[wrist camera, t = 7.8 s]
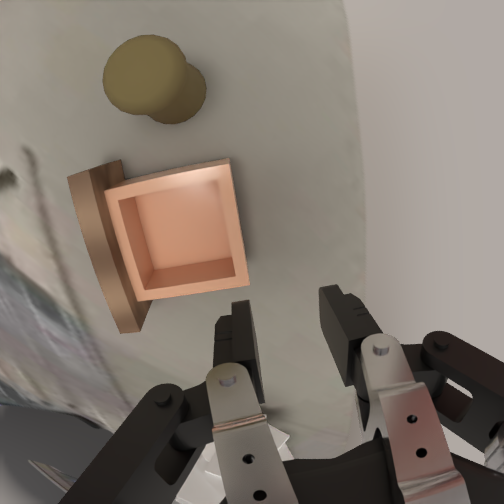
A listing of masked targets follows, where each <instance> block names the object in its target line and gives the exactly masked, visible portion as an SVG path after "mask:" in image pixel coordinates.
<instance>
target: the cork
mask: <svg viewBox="0 0 504 504" xmlns="http://www.w3.org/2000/svg"><path fill="white" fill-rule="evenodd" d="M103 86H104V91H105V94H106V95H107V97H108V98H109V100H110V102H111V103H112V104H113V105H114V106H116V107H117V108H118V109H120V110H121V111H123V112H126V113H130V114H133V115H149V116H150V117H151V118H152V119H154V120H155V121H157V122H160V123H163V124H177V123H181V122H184V121H186V120H188V119H189V118H191V117H193V116H194V115H195V114H196V113H197V112H198V111H199V109H200V108H201V107H202V105H203V102H204V100H205V98H206V89H207V88H206V84H205V79H204V77H203V76H202V74H201V73H200V71H199V70H198V69H196V68H195V67H194V66H192V65H191V64H189V63H187V62H186V58H185V56H184V54H183V53H182V51H181V50H180V48H179V47H178V45H177V44H175V43H174V42H172V41H171V40H169V39H168V38H164V37H160V36H156V35H141V36H138V37H135V38H132V39H129V40H127V41H126V42H125V43H123V44H122V45H120V46H119V47H118V48H117V49H116V50H115V51H114V52H113V54H112V55H111V56H110V57H109V59H108V61H107V64H106V66H105V68H104V73H103Z"/></svg>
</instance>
